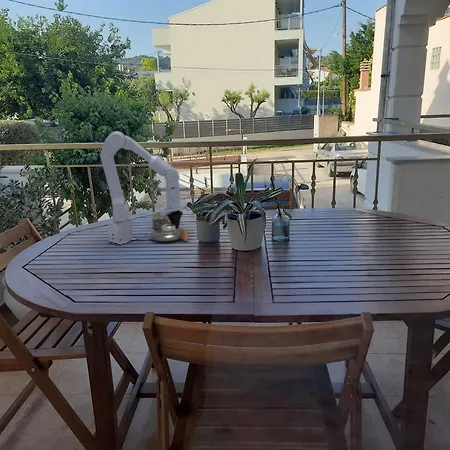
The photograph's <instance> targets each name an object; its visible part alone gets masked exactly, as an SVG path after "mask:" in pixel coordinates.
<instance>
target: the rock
mask: <svg viewBox="0 0 450 450" xmlns="http://www.w3.org/2000/svg"><path fill="white" fill-rule="evenodd" d="M152 224H153V225H152V226H153V229H155V230H158V229H162V225H164V224H171V221H170V219H169V218H168V216H167V215H165V216H160V211H157V212H155V213H154V214H153V215H152Z"/></svg>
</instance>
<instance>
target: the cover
mask: <svg viewBox="0 0 450 450" xmlns="http://www.w3.org/2000/svg"><path fill="white" fill-rule="evenodd" d="M176 232H177V231H176V228H175V224H164V225H162V234H163V235H171V234H175V233H176Z"/></svg>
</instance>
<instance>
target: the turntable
mask: <svg viewBox="0 0 450 450" xmlns="http://www.w3.org/2000/svg"><path fill="white" fill-rule="evenodd" d="M176 231H177V232H176V233H175V234H171V235H163V234H162V229H155V230H154V231H151V232H150V239H152V240H153V241H157V242H172V241H177V240H184V241H187V240H189V237H190V236H189V229H187V228H182V227H179V228H178V229H176Z"/></svg>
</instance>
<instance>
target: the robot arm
mask: <svg viewBox="0 0 450 450" xmlns="http://www.w3.org/2000/svg"><path fill="white" fill-rule="evenodd" d="M123 147H124V148H123ZM121 148H123V150H127V151H128V150H129V151H132V152H133V153H134V154H136V155H138V156H139V157H141V158H142V159H144V160H145V162H147V164H148V167H149V168H150V169H151V170H152V171H154V172H155V173H157V174H158V175H159V176H160V177H163V178H164V180H165V196H166V199H165V200H166V208H163V209H162V210H159V212H160V216H165V215H167V216H168V218H169V219H170V221H171V224H175V228H176V229H178V228H180V227H179V226H180V222H181V219H182V216H183V213H184V212H183V210H188V209H189V207H187V204H188V203H182V202H181V191H180V189H181V188H180V181H179V180H180V174H179V172H178V171H177V169H176V168H175V167H173V164H171V163H170V164H169V163H168V162H167V161H165V160H164V158H163V157H162V156H161V155H160V156H159V155H152V153H150V152H148V150H146V149H145V148H144V147H143V146H141V145H140V144H139V143H138V142H136V140H134V139H133V138H131V137H129V136H128V135H127V134H124V133H123V132H121V131H116V130H115V131H112V132H111V133H110V134H109V135H108V136H107V137H106V138H105V140H104V143H103V146H102V148H101V151H100V155H99V157H100V160H101V163H102V168H103V171H104V175H105V178H106V179H105V180H106V183H107V185H108V190H109V193H110V196H111V202H112V208H113V209H112V216H113V219H112V221H111V222H109V223H108V225H107V234H108V241H110V242H113V243H112V244H114V243H117V244H122V242H125V241H129V240H132V239H133V237H134V234H133V221H132V217H131V216H130V209H131V208H130V205H129V203H127V201H126V198H125V196H124V193H123V190H122V186H121V182H120V177H119V174H118V170H117V167H116V163H115V159H114V157H115V155H116V154H117V152H118V151H119V150H121ZM110 242H109V243H110ZM117 244H116V245H117ZM122 245H123V244H122Z"/></svg>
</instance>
